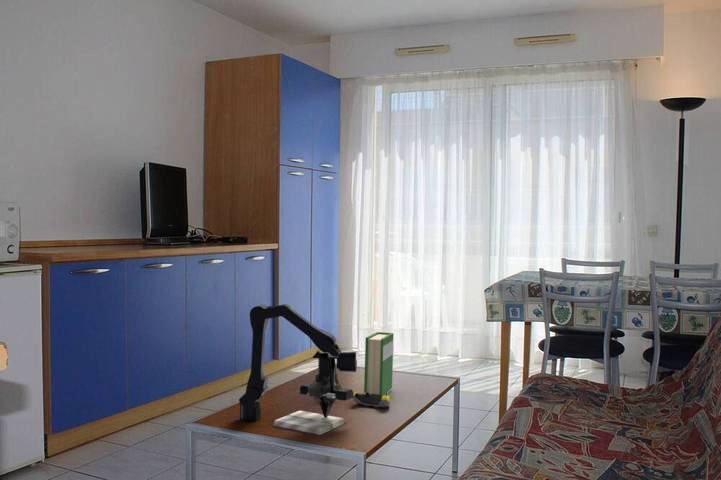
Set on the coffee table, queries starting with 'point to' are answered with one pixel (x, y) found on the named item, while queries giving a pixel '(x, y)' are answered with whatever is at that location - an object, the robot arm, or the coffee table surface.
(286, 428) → the underlay mat
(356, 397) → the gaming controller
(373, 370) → the hardback book
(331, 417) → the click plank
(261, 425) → the coffee table surface
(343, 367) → the robot arm
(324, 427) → the plank
